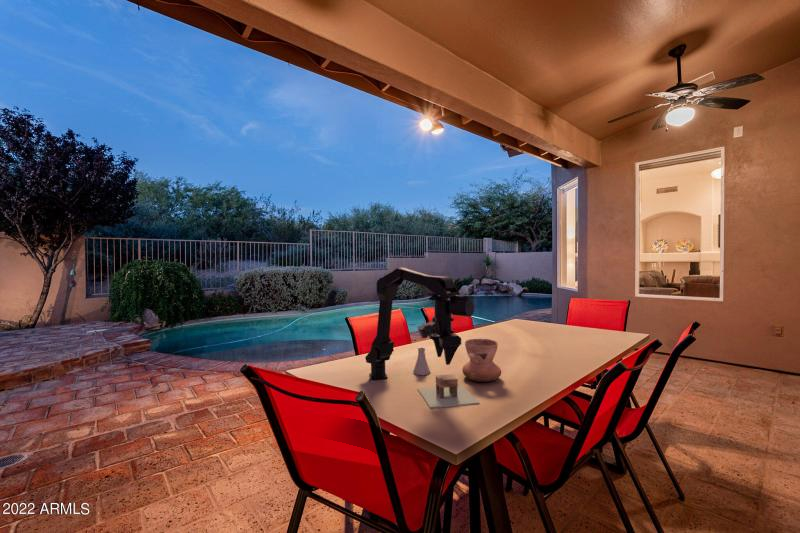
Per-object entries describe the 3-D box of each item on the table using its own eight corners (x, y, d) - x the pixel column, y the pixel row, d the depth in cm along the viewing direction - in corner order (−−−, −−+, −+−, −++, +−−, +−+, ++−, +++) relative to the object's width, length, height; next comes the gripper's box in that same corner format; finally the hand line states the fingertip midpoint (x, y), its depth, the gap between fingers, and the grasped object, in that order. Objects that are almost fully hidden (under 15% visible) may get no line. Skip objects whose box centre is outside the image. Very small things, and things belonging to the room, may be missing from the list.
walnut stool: (452, 391, 115) (452, 374, 115) (457, 397, 110) (457, 378, 110) (435, 393, 114) (435, 375, 114) (440, 398, 109) (440, 380, 109)
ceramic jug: (488, 389, 118) (488, 349, 118) (453, 380, 128) (453, 343, 128) (510, 376, 131) (509, 340, 131) (476, 369, 141) (476, 335, 141)
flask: (429, 376, 133) (429, 351, 133) (411, 375, 135) (411, 350, 135) (431, 370, 140) (431, 346, 140) (414, 369, 142) (414, 346, 142)
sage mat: (417, 389, 119) (417, 388, 119) (461, 386, 122) (460, 384, 122) (430, 408, 103) (430, 407, 103) (479, 403, 106) (479, 402, 106)
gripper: (413, 311, 121) (413, 354, 121) (427, 319, 102) (427, 370, 102) (443, 310, 123) (443, 352, 123) (461, 318, 104) (462, 368, 104)
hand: (443, 360), depth 113 cm, fingers open, 9 cm apart
